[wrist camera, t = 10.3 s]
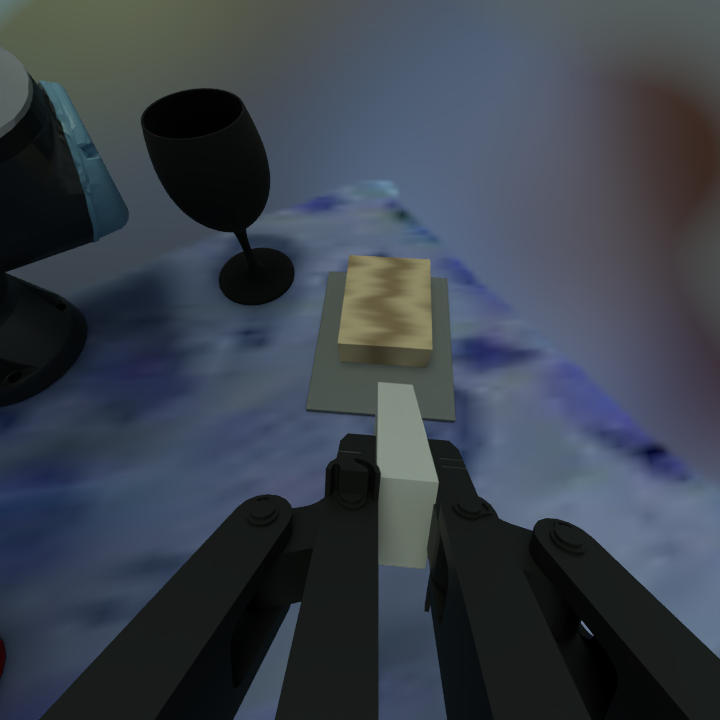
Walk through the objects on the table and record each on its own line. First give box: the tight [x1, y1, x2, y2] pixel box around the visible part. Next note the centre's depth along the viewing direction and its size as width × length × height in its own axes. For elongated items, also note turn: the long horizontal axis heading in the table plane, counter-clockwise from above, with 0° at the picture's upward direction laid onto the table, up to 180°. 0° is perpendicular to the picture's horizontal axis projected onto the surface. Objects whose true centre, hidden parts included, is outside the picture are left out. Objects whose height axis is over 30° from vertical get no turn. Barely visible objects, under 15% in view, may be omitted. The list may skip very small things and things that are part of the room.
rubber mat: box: [306, 272, 455, 422], centre depth 41 cm, size 16×20×1 cm
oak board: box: [338, 255, 432, 367], centre depth 40 cm, size 10×4×13 cm
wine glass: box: [141, 88, 294, 305], centre depth 37 cm, size 10×10×20 cm
